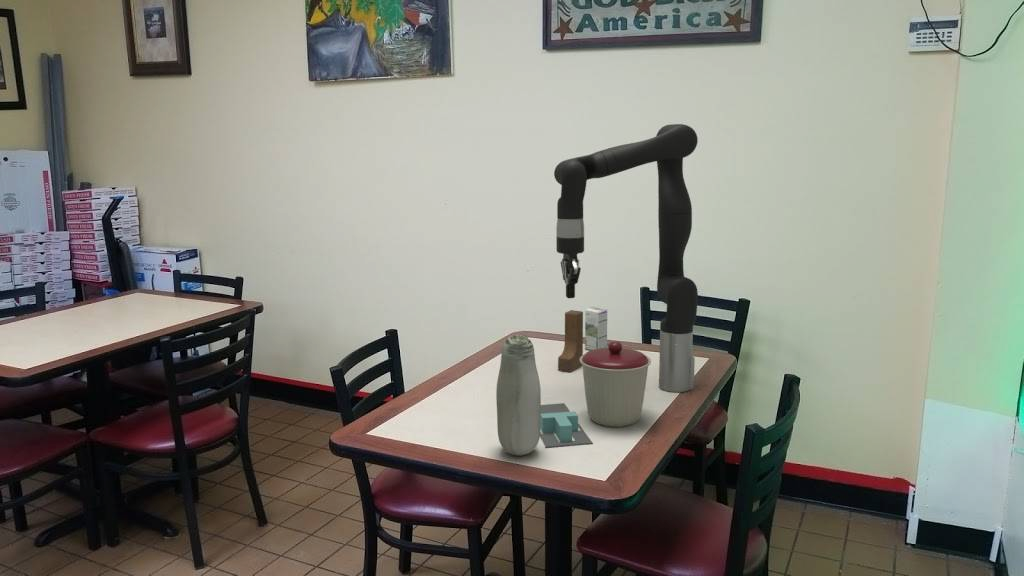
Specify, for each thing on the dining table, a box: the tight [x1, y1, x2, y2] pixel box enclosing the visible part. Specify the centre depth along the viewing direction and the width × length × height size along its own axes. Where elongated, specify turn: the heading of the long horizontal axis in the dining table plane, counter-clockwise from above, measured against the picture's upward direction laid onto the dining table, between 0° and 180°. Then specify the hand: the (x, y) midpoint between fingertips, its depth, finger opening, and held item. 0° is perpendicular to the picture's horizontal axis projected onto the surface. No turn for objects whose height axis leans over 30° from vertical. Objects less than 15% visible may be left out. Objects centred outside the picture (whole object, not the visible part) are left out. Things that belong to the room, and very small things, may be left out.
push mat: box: [539, 403, 593, 449], centre depth 191 cm, size 12×28×1 cm, turn 10°
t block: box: [540, 411, 579, 442], centre depth 183 cm, size 9×9×4 cm
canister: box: [579, 340, 652, 428], centre depth 192 cm, size 18×18×21 cm
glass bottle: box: [495, 334, 542, 457], centre depth 172 cm, size 10×10×28 cm
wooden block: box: [557, 309, 584, 373], centre depth 237 cm, size 9×4×18 cm, turn 148°
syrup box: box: [584, 306, 608, 351], centre depth 258 cm, size 6×6×14 cm
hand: (570, 297), depth 205 cm, fingers closed
